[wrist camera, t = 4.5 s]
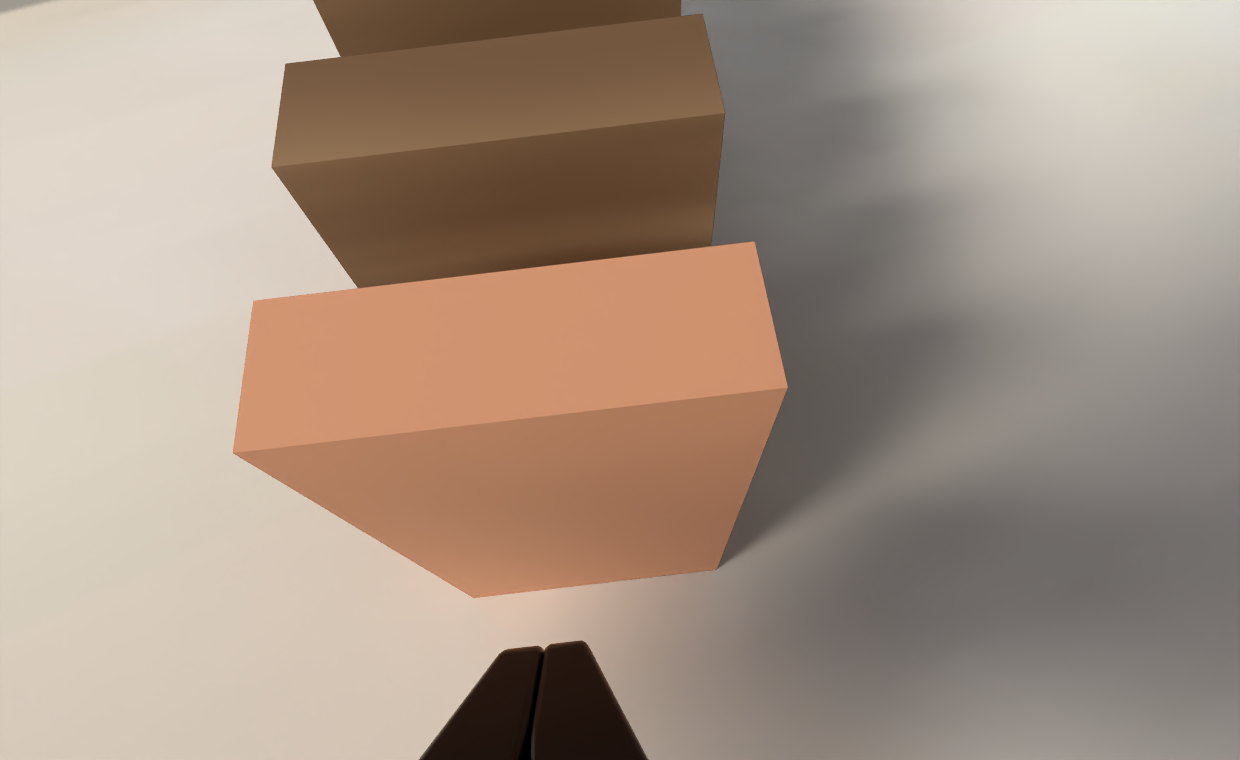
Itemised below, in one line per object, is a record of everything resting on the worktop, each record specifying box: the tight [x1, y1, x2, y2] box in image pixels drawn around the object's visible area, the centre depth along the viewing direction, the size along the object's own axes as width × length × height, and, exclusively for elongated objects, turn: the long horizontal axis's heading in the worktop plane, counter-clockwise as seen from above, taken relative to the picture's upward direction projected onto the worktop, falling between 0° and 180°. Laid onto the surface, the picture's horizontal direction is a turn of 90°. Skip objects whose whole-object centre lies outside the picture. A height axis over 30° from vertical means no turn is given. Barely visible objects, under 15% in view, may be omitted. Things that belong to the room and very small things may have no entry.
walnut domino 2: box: [272, 14, 725, 288], centre depth 12 cm, size 2×5×9 cm, turn 97°
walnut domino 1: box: [313, 0, 681, 57], centre depth 14 cm, size 2×5×9 cm, turn 96°
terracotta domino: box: [233, 241, 788, 598], centre depth 11 cm, size 2×5×9 cm, turn 96°
